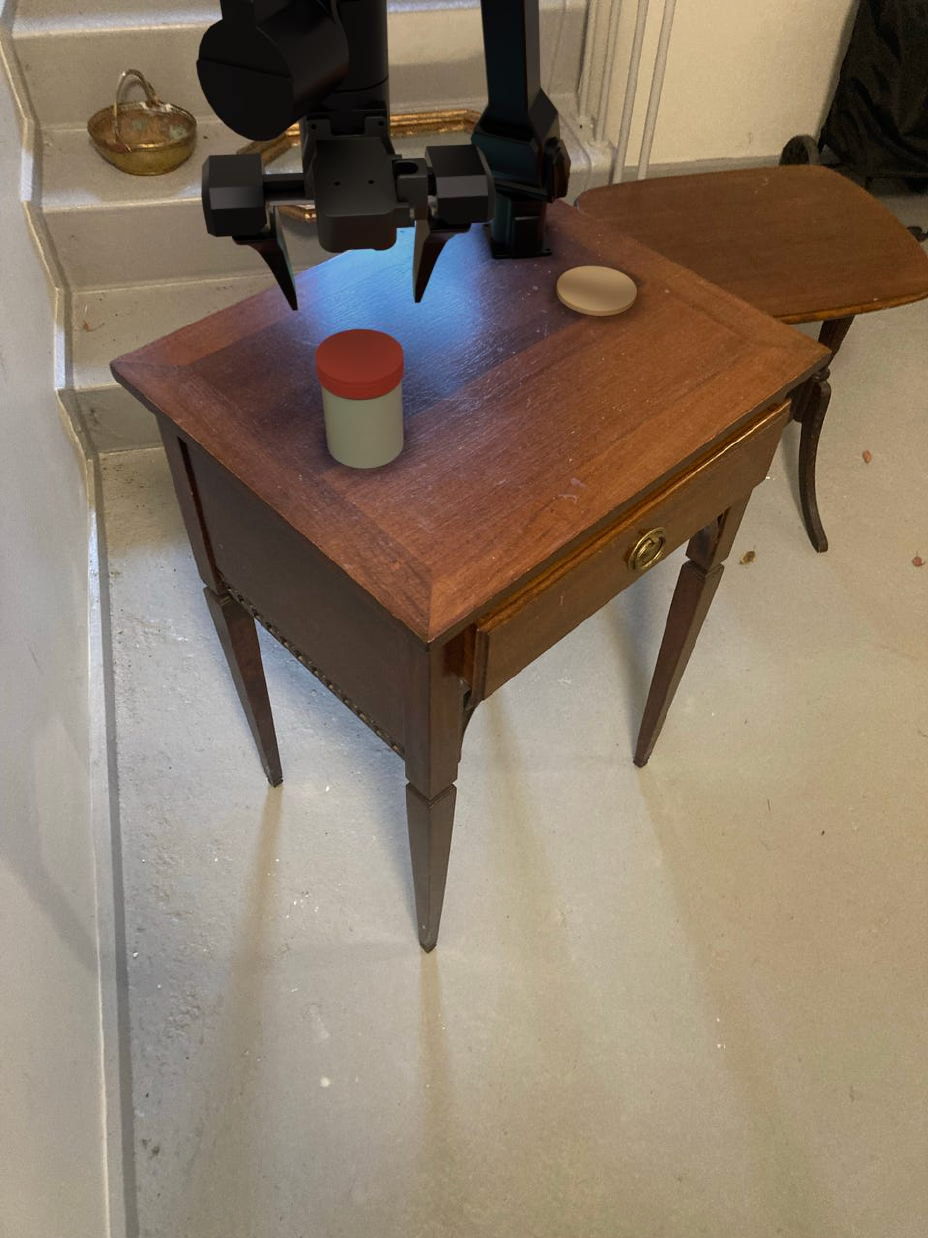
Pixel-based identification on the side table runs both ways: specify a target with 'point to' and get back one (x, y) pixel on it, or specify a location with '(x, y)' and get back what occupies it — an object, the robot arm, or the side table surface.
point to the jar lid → (359, 363)
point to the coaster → (596, 290)
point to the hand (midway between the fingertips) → (356, 303)
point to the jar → (364, 428)
